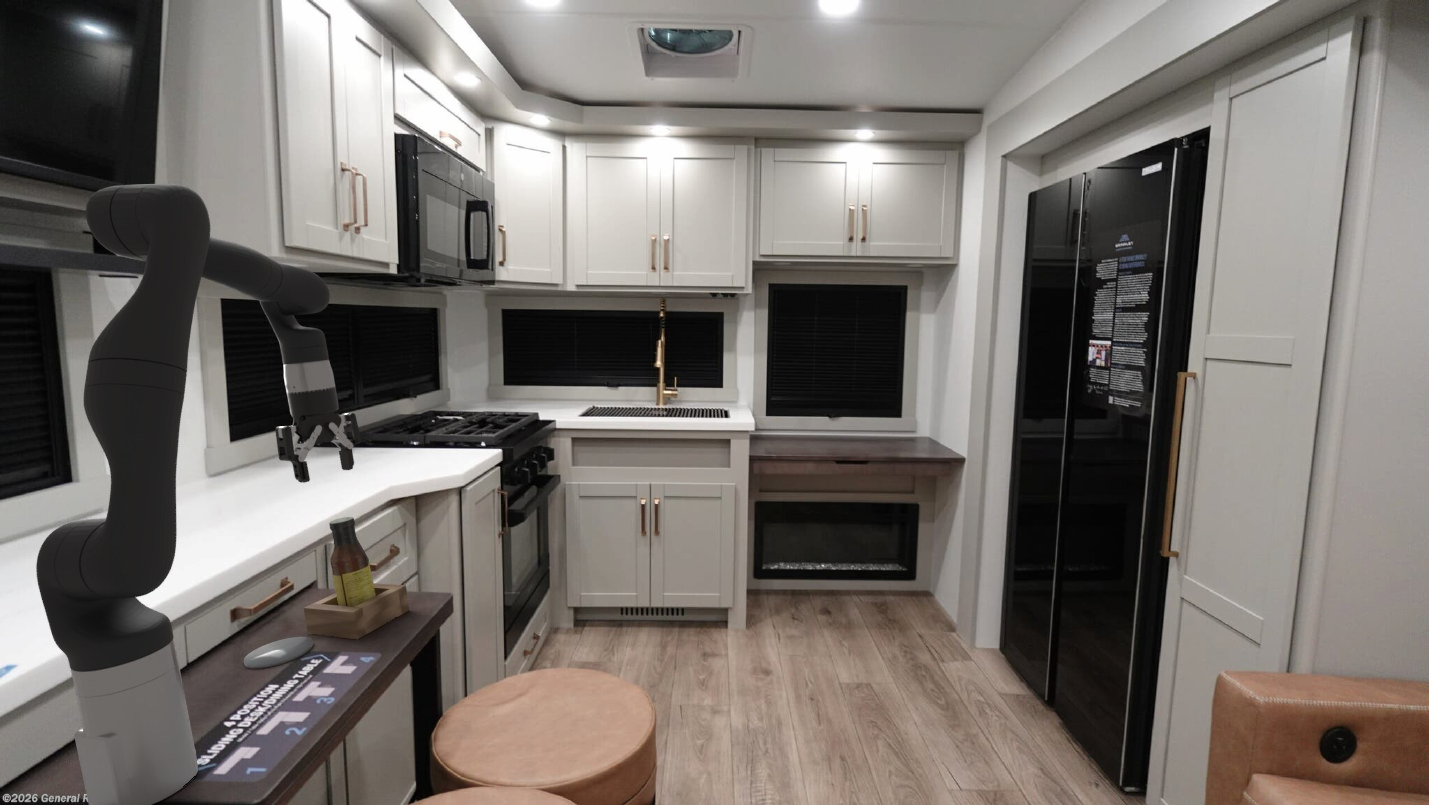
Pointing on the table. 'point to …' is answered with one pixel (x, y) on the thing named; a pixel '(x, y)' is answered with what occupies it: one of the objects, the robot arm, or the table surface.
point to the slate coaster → (278, 652)
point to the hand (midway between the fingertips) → (326, 475)
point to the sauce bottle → (350, 565)
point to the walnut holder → (356, 613)
